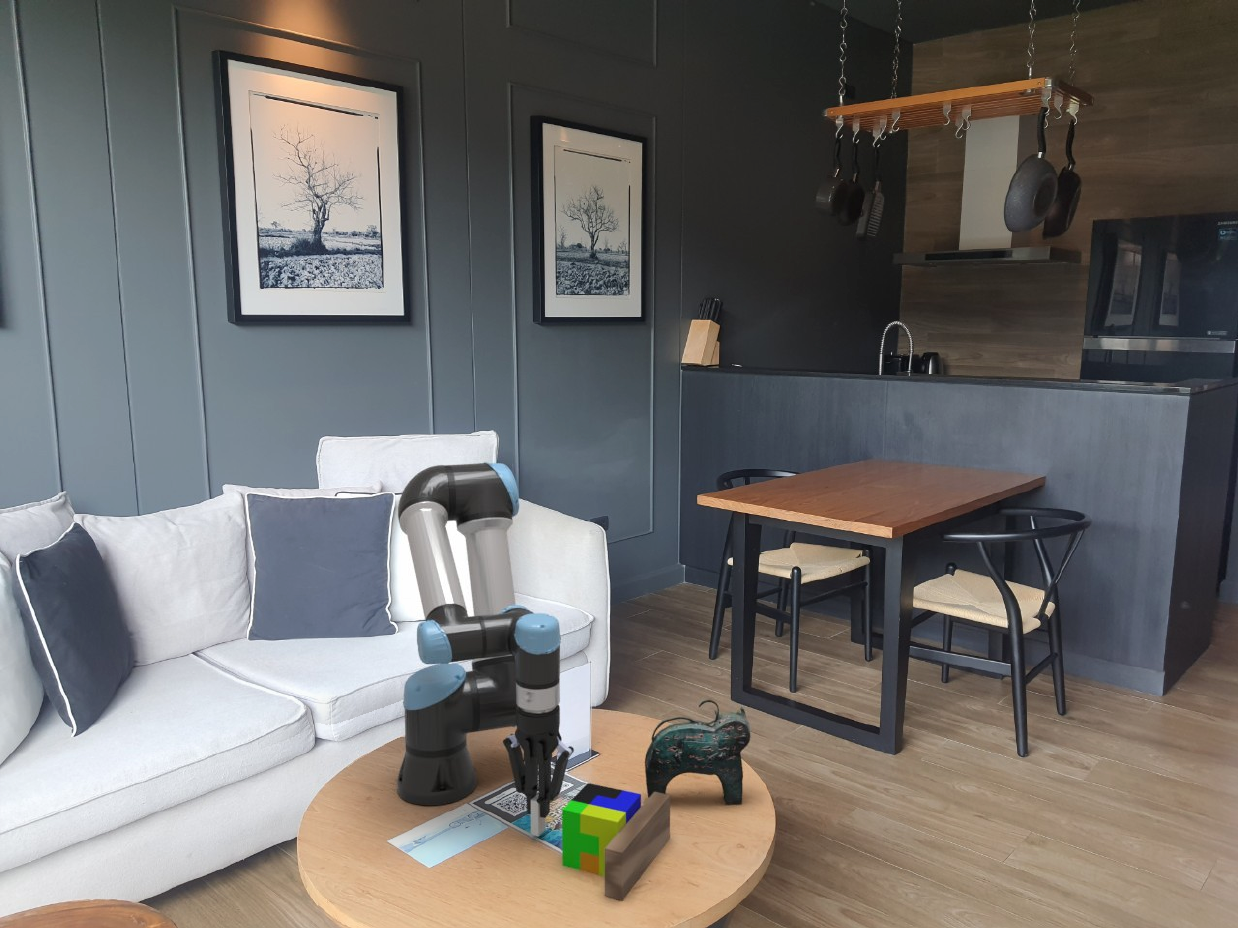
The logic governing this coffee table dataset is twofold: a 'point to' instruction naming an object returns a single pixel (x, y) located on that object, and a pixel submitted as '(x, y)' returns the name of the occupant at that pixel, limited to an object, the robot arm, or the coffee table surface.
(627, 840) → the walnut board
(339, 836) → the coffee table surface
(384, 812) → the coffee table surface
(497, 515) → the robot arm
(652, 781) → the ceramic cat
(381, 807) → the coffee table surface
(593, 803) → the puzzle toy
